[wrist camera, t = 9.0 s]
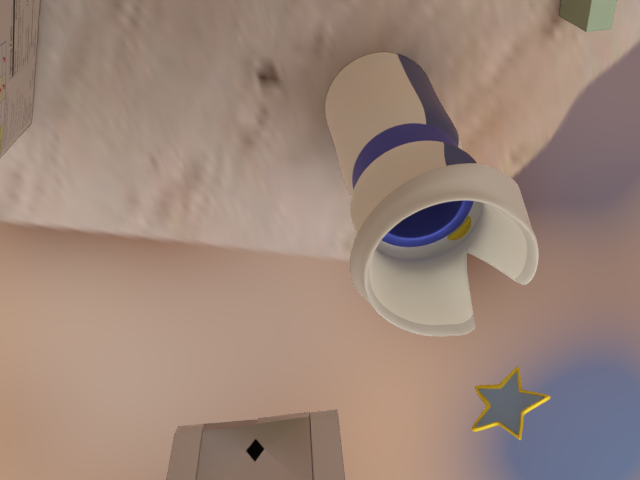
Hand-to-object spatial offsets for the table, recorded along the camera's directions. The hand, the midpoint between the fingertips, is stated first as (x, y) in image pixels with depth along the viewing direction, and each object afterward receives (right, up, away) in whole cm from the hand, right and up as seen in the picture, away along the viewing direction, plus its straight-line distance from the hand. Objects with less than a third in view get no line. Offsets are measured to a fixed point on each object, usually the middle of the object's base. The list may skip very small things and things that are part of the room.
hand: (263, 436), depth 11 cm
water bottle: (+6, +13, +29) cm, 33 cm away
